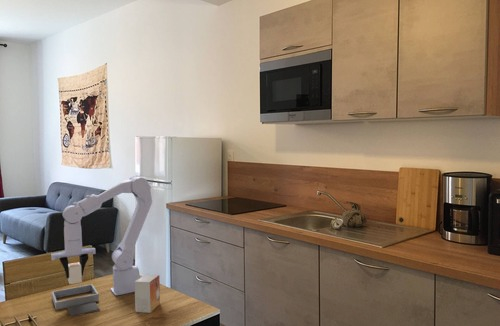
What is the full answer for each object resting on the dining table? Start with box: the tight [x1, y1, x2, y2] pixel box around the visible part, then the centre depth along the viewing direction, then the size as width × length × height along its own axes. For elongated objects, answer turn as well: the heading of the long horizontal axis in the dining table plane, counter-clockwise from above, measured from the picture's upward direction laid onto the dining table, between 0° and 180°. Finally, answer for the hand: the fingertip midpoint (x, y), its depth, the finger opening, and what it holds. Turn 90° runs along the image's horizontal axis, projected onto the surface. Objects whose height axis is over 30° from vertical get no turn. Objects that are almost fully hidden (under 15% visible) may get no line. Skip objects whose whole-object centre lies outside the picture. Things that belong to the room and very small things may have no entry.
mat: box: [66, 301, 100, 318], centre depth 137 cm, size 9×8×1 cm
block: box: [67, 261, 83, 285], centre depth 145 cm, size 4×5×6 cm
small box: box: [134, 273, 161, 314], centre depth 137 cm, size 8×6×10 cm
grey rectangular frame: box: [51, 283, 100, 311], centre depth 146 cm, size 14×12×2 cm
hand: (74, 276), depth 145 cm, fingers closed on block, 4 cm apart
